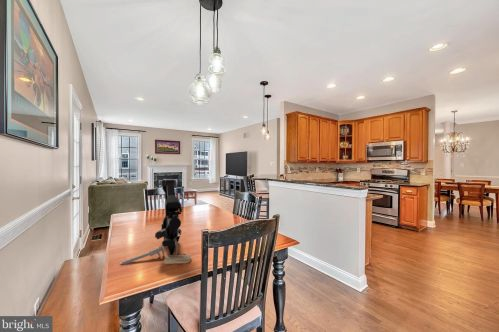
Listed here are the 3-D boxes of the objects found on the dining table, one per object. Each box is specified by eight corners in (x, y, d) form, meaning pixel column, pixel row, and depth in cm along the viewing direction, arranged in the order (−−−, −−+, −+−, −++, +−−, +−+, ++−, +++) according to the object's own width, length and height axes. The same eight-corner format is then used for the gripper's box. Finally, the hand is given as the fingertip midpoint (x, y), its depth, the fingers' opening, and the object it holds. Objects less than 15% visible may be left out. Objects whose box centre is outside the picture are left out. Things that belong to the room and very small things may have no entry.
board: (166, 259, 107) (166, 255, 107) (190, 258, 109) (190, 254, 109) (164, 264, 103) (164, 259, 103) (189, 262, 105) (189, 258, 105)
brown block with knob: (169, 253, 114) (169, 242, 114) (177, 253, 115) (177, 242, 114) (167, 257, 110) (167, 245, 109) (176, 257, 110) (176, 245, 110)
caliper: (163, 255, 113) (163, 244, 112) (164, 256, 112) (164, 244, 111) (119, 264, 102) (119, 252, 102) (119, 265, 101) (119, 253, 101)
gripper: (161, 219, 120) (161, 246, 120) (151, 230, 101) (151, 262, 102) (181, 219, 121) (181, 245, 122) (174, 229, 103) (174, 260, 103)
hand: (172, 252), depth 112 cm, fingers closed on brown block with knob, 4 cm apart
